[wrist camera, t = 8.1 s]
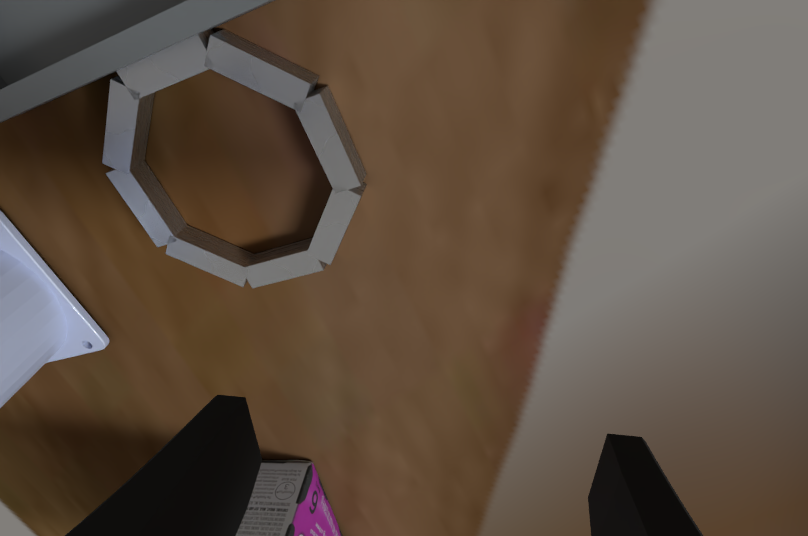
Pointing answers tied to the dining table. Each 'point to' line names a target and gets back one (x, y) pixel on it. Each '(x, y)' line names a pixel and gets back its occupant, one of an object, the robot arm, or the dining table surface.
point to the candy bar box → (288, 502)
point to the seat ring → (269, 78)
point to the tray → (91, 41)
